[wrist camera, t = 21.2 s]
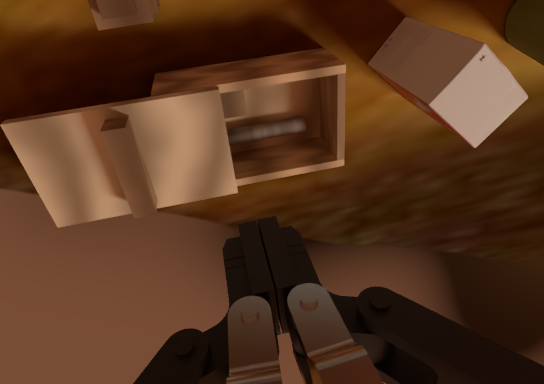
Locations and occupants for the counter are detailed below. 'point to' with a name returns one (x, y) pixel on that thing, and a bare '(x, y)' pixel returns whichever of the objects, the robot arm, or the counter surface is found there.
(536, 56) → the plant pot
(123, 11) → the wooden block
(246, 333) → the robot arm
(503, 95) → the small box
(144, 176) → the lid
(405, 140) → the counter surface
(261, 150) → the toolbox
